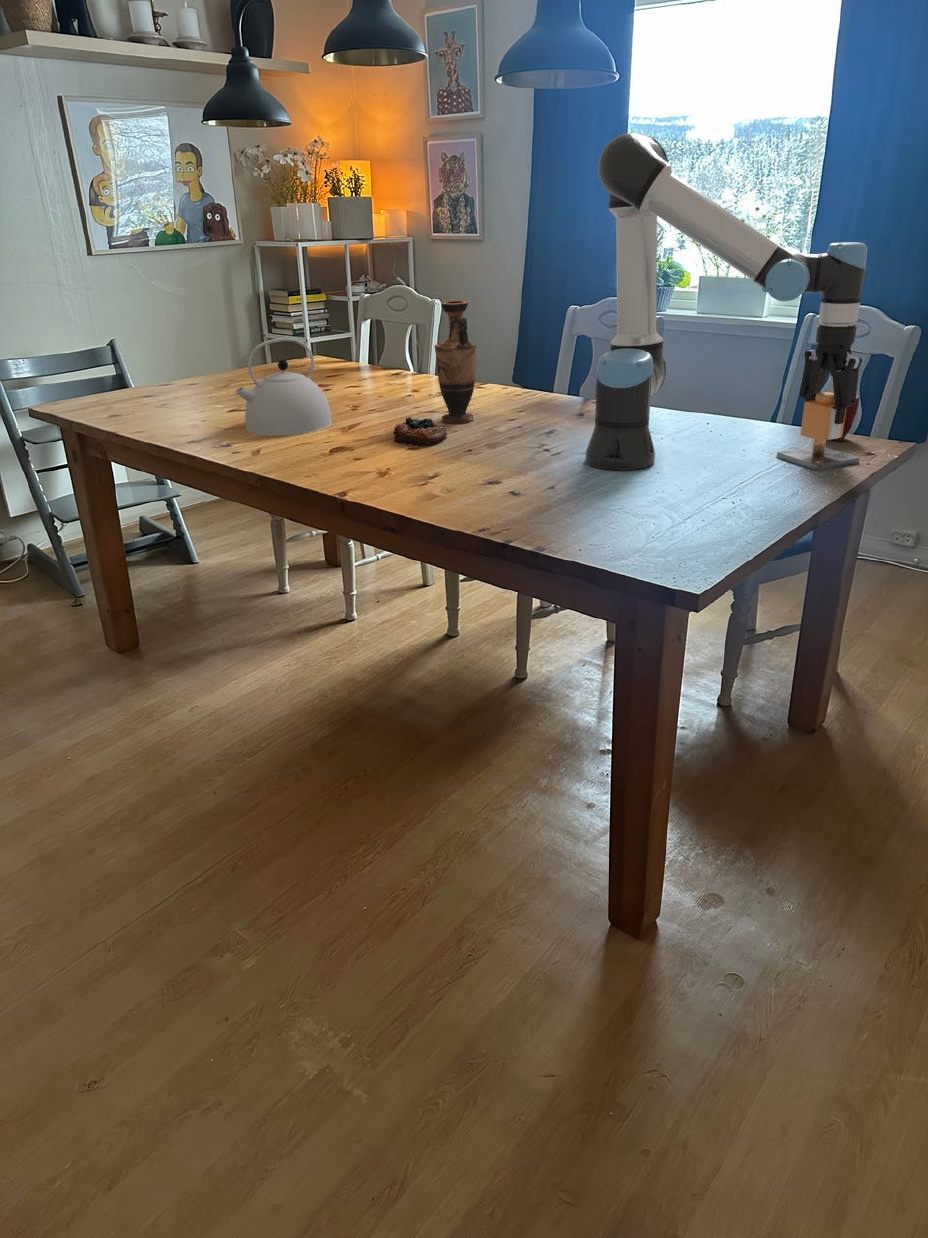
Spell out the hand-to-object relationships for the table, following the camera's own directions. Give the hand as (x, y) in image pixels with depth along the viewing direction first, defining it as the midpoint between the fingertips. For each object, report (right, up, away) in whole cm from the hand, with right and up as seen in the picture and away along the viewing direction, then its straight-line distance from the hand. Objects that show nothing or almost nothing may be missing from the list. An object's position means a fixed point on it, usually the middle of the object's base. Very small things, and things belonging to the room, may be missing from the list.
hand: (821, 434), depth 194 cm
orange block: (0, 0, 0) cm, 0 cm away
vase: (-79, +13, +45) cm, 92 cm away
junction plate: (0, -5, +2) cm, 6 cm away
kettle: (-125, +11, +44) cm, 133 cm away
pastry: (-88, +4, +27) cm, 92 cm away
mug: (+10, +3, +18) cm, 21 cm away
